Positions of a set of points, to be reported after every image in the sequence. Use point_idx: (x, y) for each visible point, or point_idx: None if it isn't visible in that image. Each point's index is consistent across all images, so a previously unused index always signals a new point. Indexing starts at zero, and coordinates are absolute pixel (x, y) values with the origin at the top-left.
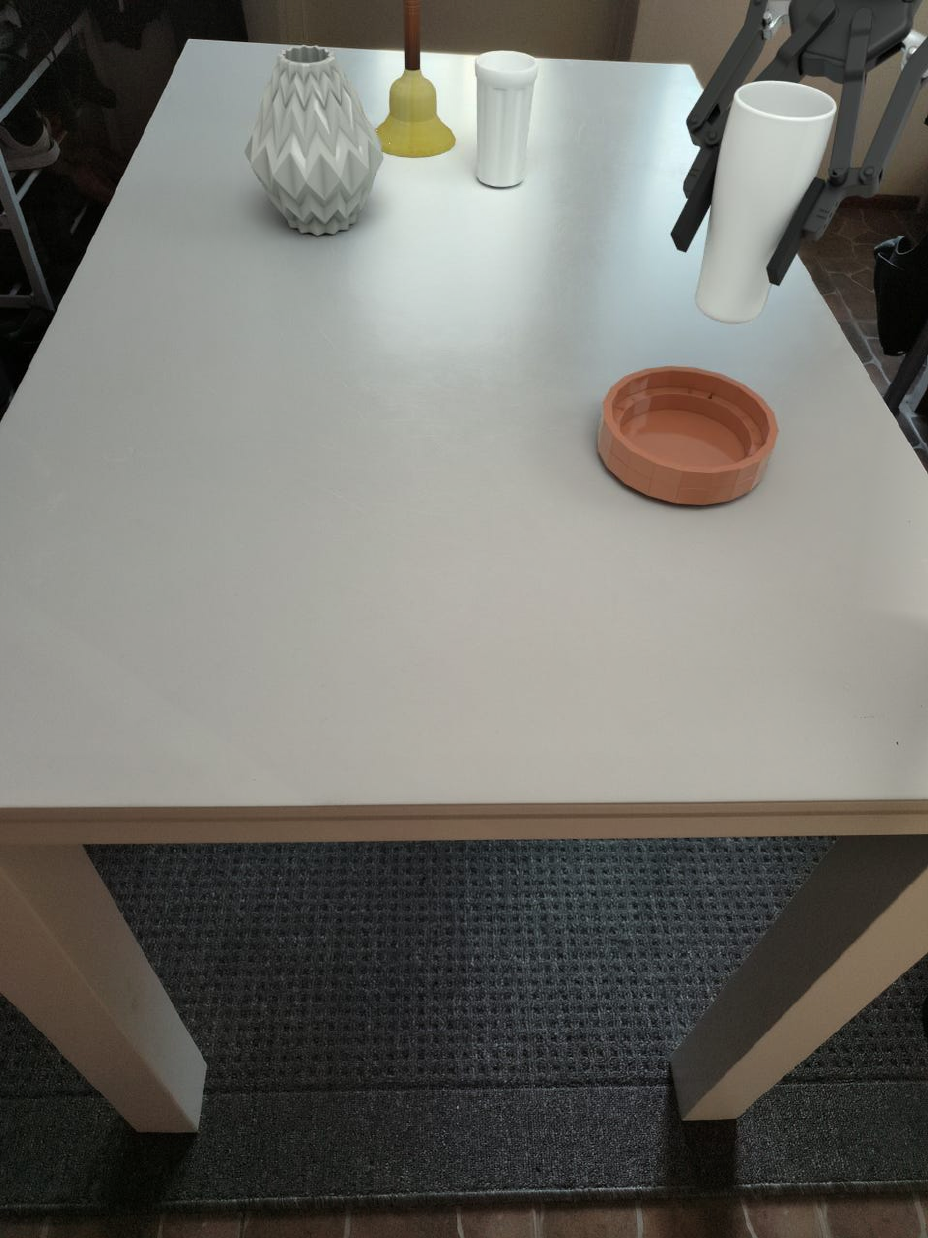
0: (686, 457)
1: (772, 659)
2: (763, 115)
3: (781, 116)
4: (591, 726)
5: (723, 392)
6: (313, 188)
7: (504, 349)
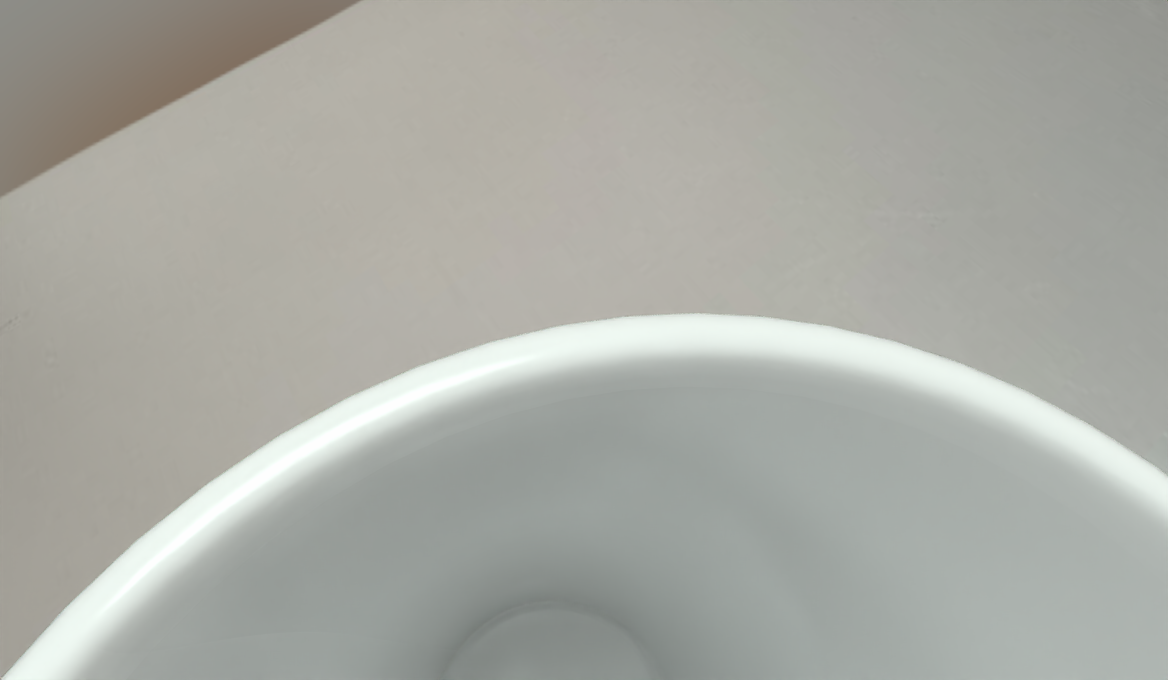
0: None
1: (180, 336)
2: (696, 315)
3: (471, 376)
4: (366, 97)
5: None
6: None
7: None
